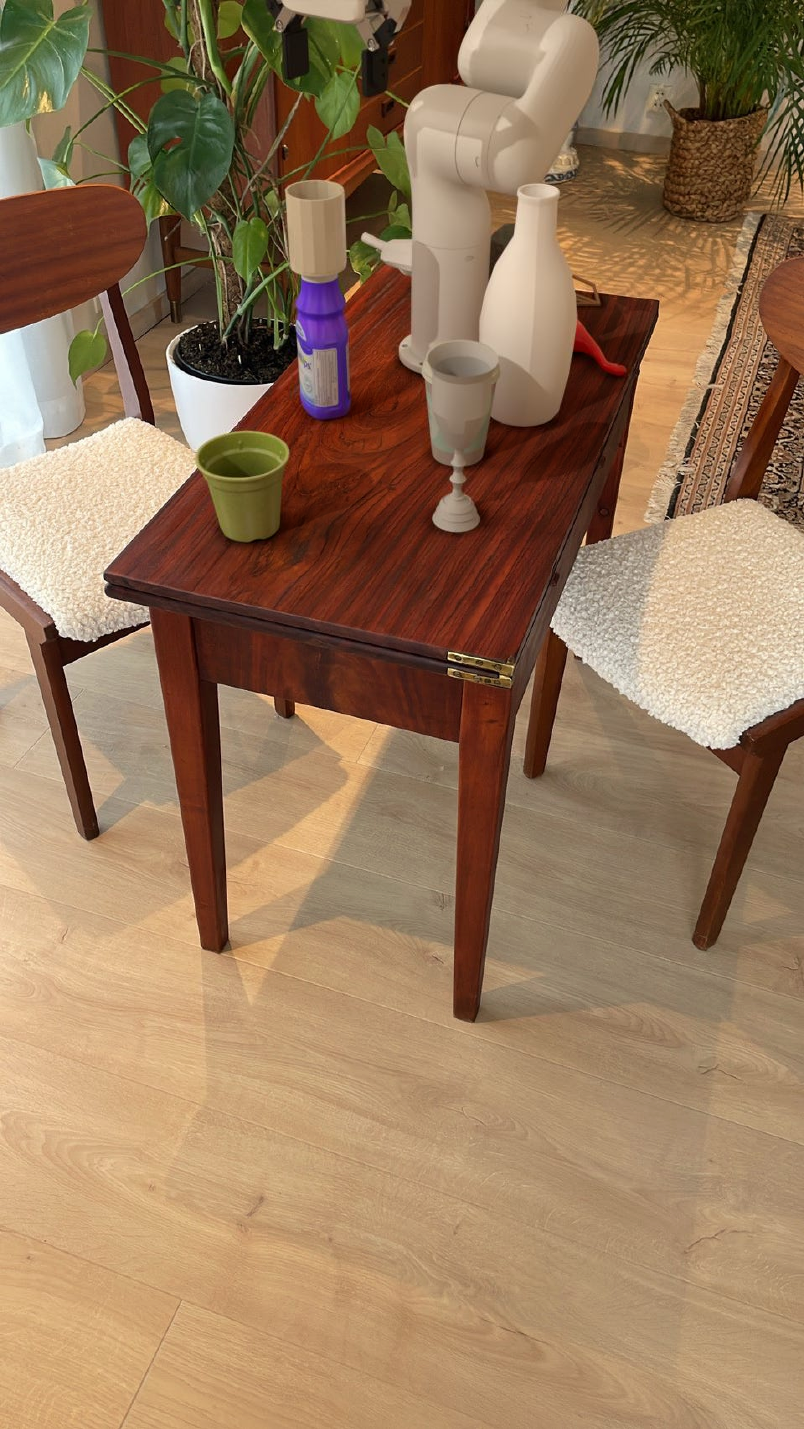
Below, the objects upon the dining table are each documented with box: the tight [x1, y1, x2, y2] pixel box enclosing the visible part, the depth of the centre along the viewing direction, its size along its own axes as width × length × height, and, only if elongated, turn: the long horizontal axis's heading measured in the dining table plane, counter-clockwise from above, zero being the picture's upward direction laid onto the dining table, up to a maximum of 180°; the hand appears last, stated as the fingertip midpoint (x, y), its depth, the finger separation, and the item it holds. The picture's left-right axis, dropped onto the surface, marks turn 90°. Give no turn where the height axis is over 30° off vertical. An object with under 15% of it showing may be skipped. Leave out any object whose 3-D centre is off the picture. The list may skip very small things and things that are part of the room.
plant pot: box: [194, 430, 290, 543], centre depth 118 cm, size 9×9×9 cm
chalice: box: [427, 342, 498, 533], centre depth 116 cm, size 7×7×18 cm
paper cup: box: [284, 179, 348, 277], centre depth 125 cm, size 6×6×8 cm
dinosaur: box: [572, 313, 627, 377], centre depth 149 cm, size 4×15×12 cm
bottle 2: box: [479, 183, 578, 428], centre depth 131 cm, size 11×11×25 cm
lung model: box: [360, 231, 412, 278], centre depth 160 cm, size 7×17×25 cm
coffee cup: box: [421, 340, 501, 467], centre depth 128 cm, size 8×8×12 cm
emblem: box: [572, 274, 602, 307], centre depth 164 cm, size 12×10×1 cm
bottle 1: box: [295, 273, 352, 421], centre depth 134 cm, size 7×6×17 cm
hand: (335, 85), depth 112 cm, fingers open, 9 cm apart
